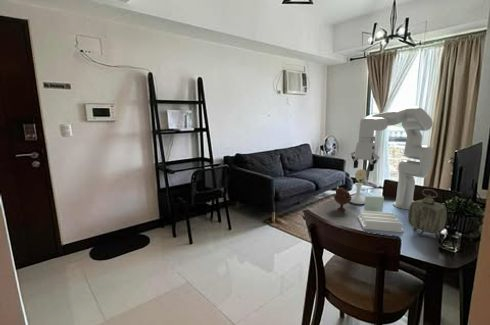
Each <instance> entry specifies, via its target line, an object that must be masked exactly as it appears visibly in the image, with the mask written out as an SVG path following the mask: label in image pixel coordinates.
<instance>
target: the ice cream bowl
mask: <svg viewBox="0 0 490 325" xmlns="http://www.w3.org/2000/svg"><path fill="white" fill-rule="evenodd" d="M351 198H352V195H351V194H350V192H349V191H348V190H347V189H345V188H344V187H338V188H336V190H335V193H334V194H333V199H334V200H335V202H336V203H337V204H339V205H340V207H337V208H336V210H337V211H338V212H342V213H343V212H346V211H347V209H346V208H344V205H347V204H348V203H351V202H350V200H351Z"/></svg>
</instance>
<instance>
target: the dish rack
mask: <svg viewBox="0 0 490 325" xmlns="http://www.w3.org/2000/svg"><path fill="white" fill-rule="evenodd" d="M359 211H360V212H359V215H357V219H358V221H359V223H360V225H361V227H362V229H363V230H372V231H386V232H395V233H396V232H397V233H404V229H403V222H400V219H399V218H397V215H394V212H391V211H390V212H389V211H382V212H377V211H364V209H362V210H361V209H360V210H359Z"/></svg>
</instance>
